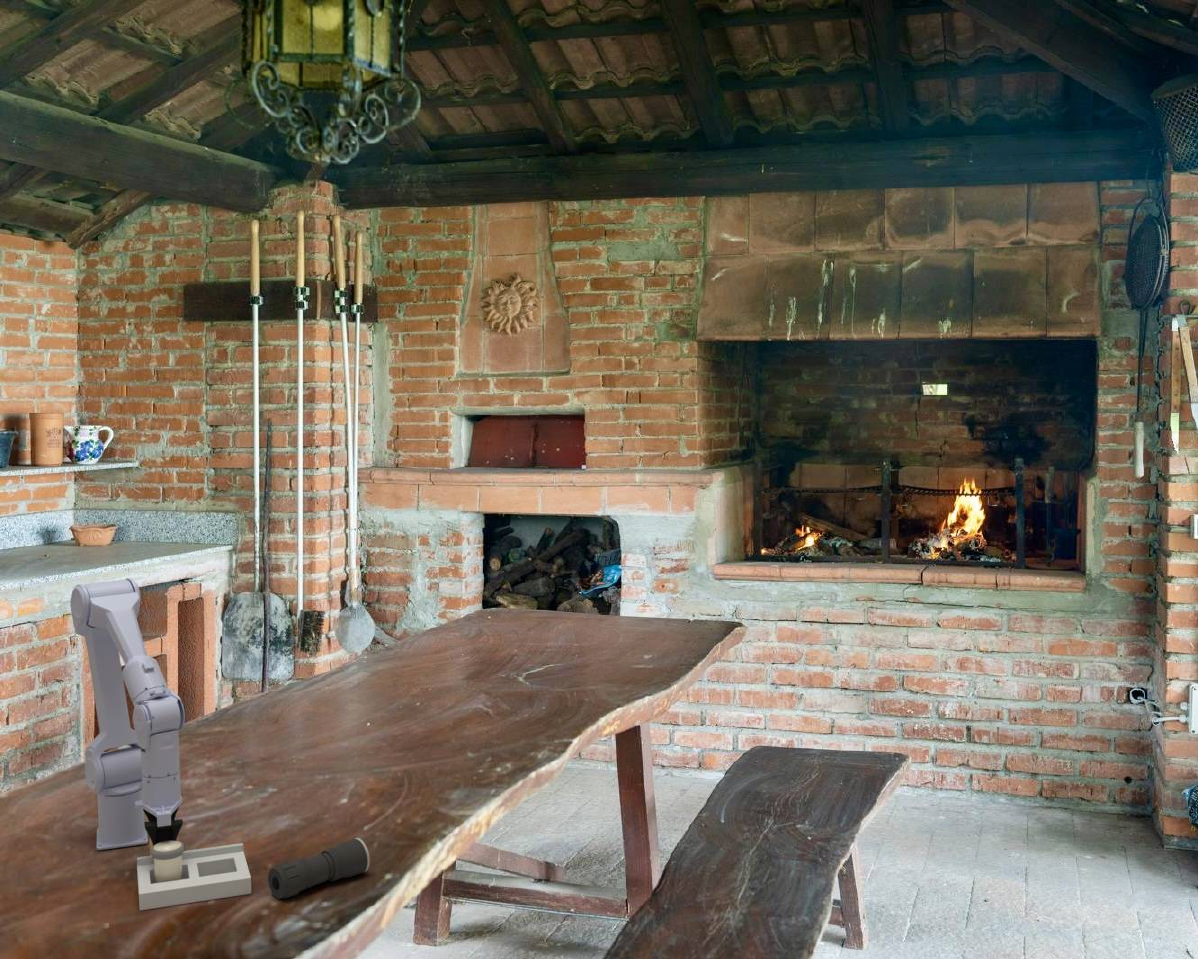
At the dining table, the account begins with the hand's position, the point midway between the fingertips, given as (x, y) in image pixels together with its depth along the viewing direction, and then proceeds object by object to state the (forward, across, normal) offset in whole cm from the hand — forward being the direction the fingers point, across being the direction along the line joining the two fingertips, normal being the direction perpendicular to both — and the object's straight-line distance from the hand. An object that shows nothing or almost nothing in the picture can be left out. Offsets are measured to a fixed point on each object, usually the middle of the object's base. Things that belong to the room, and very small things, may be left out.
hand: (164, 856), depth 197 cm
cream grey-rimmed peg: (+2, +8, 0) cm, 9 cm away
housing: (+2, +8, +4) cm, 9 cm away
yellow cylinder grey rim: (+2, -1, 0) cm, 2 cm away
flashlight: (+3, +14, +22) cm, 27 cm away
